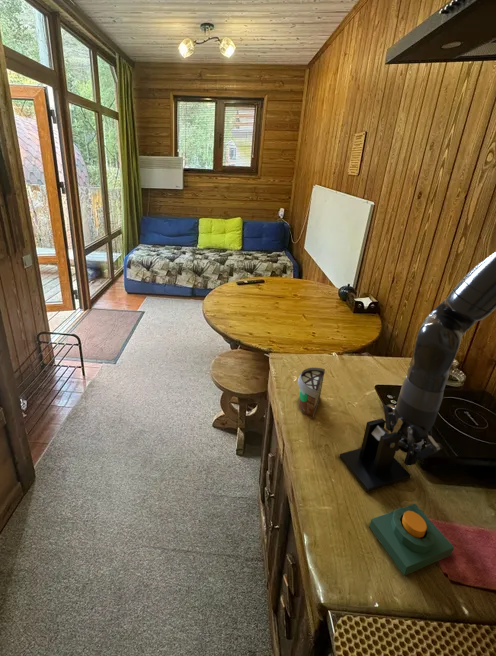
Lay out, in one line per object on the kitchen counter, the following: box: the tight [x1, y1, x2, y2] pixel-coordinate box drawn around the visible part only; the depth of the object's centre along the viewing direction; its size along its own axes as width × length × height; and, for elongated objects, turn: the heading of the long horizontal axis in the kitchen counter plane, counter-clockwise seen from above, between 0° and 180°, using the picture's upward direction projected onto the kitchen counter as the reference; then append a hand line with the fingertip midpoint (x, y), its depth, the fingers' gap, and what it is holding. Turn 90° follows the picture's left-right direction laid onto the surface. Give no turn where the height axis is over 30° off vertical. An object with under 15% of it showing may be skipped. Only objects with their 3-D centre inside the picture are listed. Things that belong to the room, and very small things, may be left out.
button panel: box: [368, 503, 455, 576], centre depth 57 cm, size 11×8×4 cm
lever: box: [371, 425, 409, 454], centre depth 71 cm, size 13×3×3 cm
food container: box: [297, 367, 326, 419], centre depth 90 cm, size 12×6×10 cm, turn 149°
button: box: [402, 511, 427, 538], centre depth 57 cm, size 4×4×2 cm
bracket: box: [338, 417, 412, 494], centre depth 70 cm, size 12×9×12 cm
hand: (401, 456), depth 74 cm, fingers closed on lever, 3 cm apart
